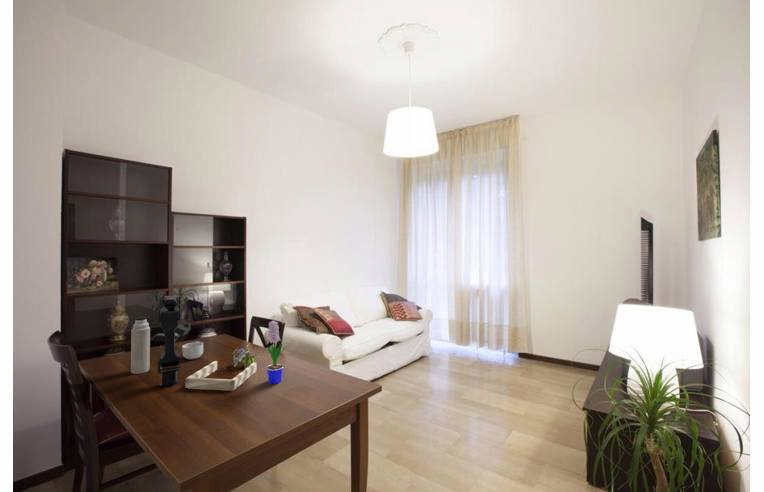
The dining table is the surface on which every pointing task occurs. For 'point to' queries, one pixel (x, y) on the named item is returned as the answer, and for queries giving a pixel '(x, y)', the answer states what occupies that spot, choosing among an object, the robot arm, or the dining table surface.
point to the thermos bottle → (140, 346)
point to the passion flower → (243, 356)
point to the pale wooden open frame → (201, 382)
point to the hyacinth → (274, 355)
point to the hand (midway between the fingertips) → (171, 350)
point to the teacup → (193, 350)
